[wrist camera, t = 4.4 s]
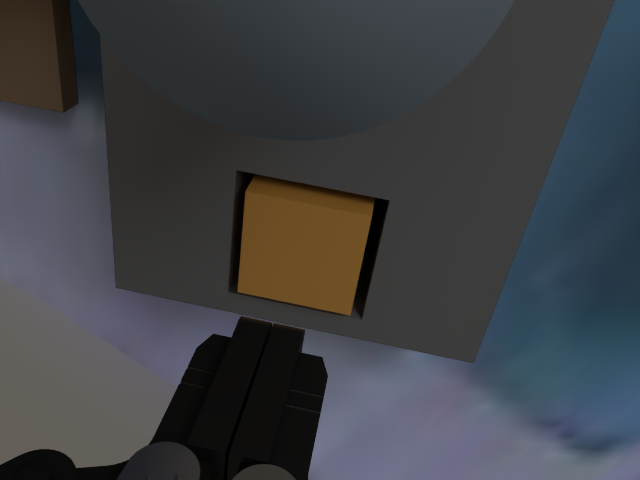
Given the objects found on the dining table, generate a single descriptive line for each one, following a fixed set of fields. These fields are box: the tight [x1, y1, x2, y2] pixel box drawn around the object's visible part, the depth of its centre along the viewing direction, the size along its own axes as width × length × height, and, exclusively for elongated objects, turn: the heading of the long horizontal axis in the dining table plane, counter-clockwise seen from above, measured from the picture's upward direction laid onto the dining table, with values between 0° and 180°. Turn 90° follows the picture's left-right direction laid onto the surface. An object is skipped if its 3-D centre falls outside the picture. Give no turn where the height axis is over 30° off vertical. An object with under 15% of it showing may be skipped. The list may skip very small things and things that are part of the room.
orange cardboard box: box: [238, 174, 375, 315], centre depth 19 cm, size 4×4×4 cm
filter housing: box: [100, 0, 615, 363], centre depth 16 cm, size 17×12×4 cm
